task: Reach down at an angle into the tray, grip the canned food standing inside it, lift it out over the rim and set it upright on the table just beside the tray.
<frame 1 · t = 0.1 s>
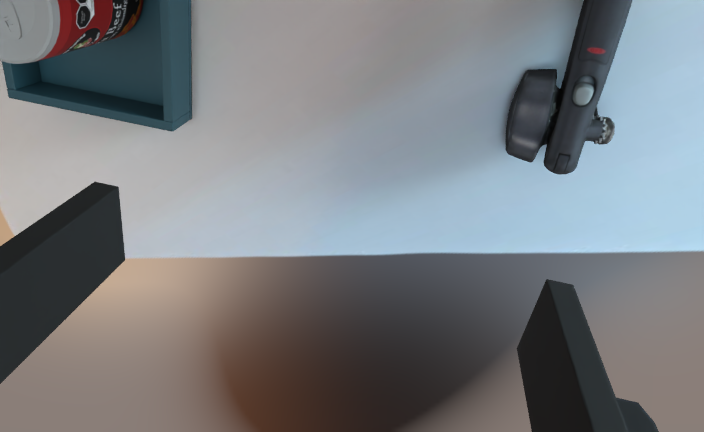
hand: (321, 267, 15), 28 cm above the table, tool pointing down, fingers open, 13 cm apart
can opener: (577, 44, 37), on the table
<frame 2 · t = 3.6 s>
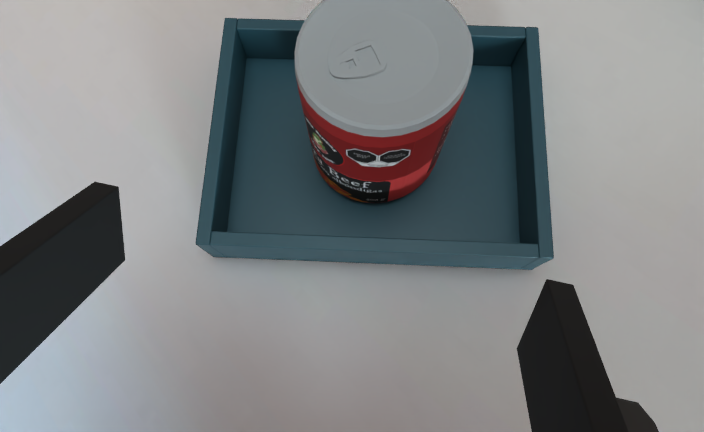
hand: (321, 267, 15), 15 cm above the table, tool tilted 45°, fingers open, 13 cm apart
tray: (375, 153, 33), on the table
canned food: (375, 151, 33), resting on tray
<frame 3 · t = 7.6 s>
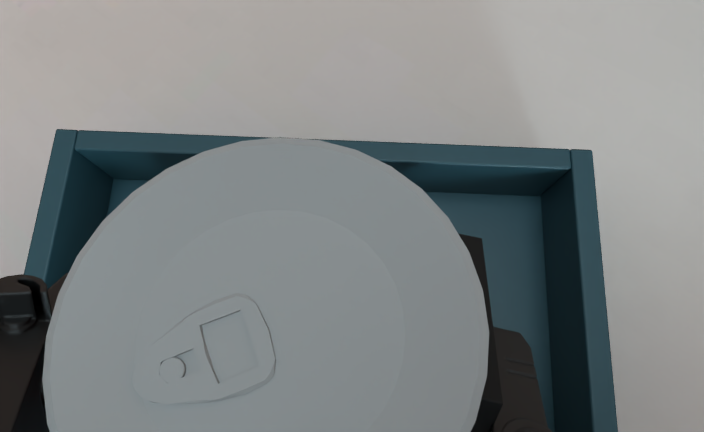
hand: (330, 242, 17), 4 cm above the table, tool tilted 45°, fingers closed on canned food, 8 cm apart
tray: (316, 347, 20), on the table
canned food: (315, 347, 20), resting on tray, touching gripper
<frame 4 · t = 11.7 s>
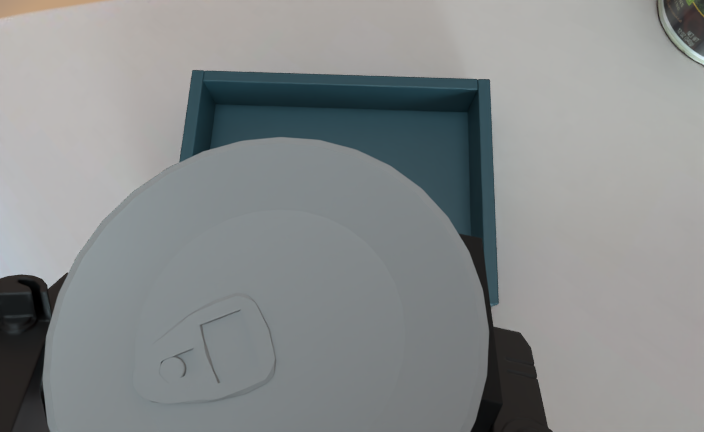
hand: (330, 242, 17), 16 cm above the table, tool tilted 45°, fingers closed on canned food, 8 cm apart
tray: (337, 196, 34), on the table
canned food: (315, 347, 20), point 13 cm above the table, touching gripper
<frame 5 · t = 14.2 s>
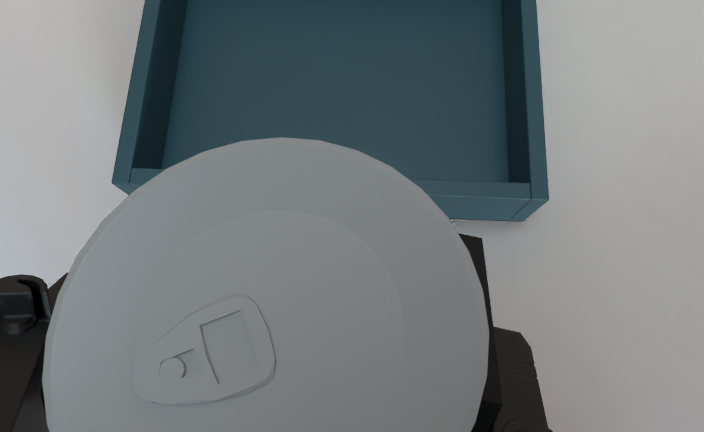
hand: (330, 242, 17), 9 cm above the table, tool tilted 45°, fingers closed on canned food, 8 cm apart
tray: (339, 87, 28), on the table
canned food: (315, 347, 20), point 5 cm above the table, touching gripper
when the fingers open (4 cm above the table, at t = 16.0 s): canned food stays where it is, on the table.
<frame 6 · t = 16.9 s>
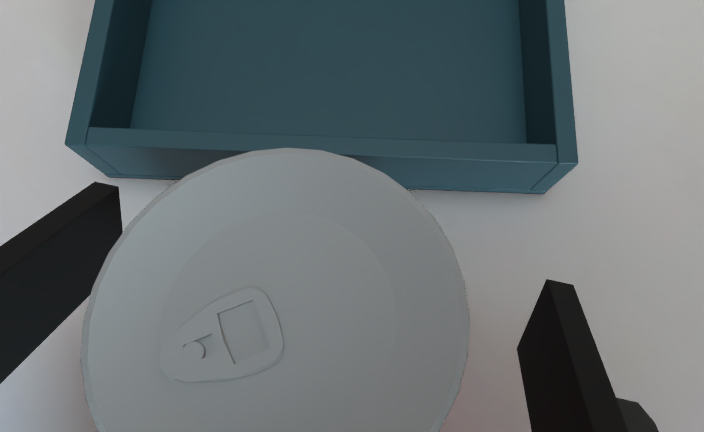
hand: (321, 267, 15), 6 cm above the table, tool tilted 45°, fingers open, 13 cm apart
tray: (333, 44, 24), on the table
canned food: (315, 339, 21), on the table
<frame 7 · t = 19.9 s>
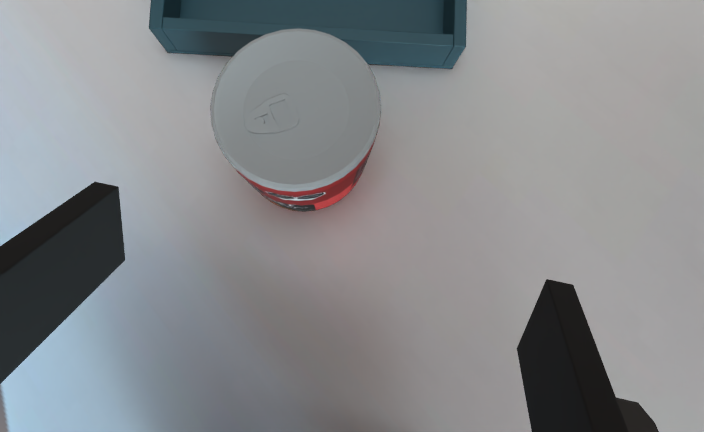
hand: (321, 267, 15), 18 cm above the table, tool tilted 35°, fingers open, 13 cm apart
canned food: (306, 157, 34), on the table
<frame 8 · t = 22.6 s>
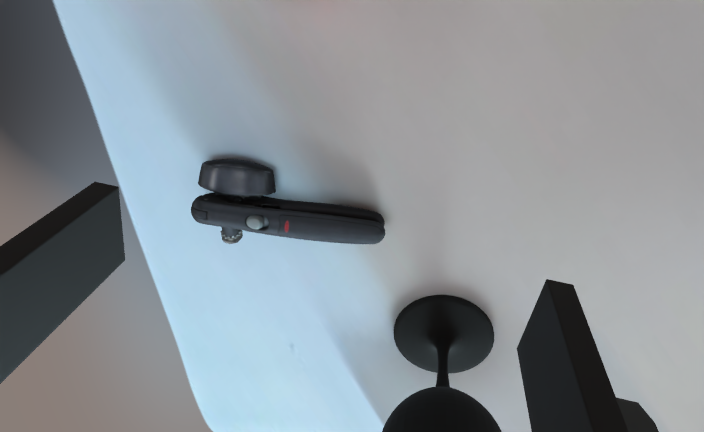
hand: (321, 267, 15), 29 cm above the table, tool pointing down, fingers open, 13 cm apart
can opener: (296, 200, 48), on the table
wine glass: (443, 333, 53), on the table
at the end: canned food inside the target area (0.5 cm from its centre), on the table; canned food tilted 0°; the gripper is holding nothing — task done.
